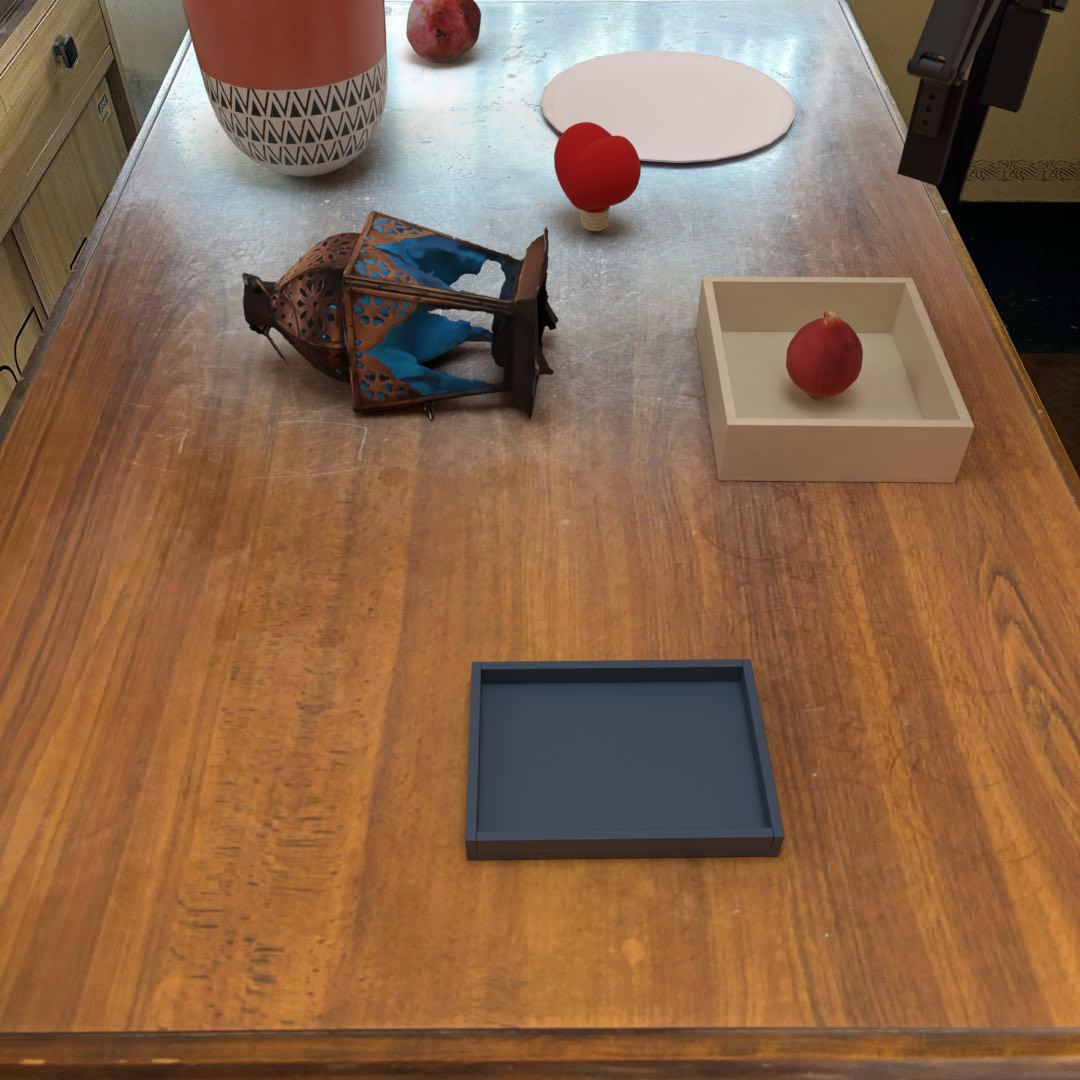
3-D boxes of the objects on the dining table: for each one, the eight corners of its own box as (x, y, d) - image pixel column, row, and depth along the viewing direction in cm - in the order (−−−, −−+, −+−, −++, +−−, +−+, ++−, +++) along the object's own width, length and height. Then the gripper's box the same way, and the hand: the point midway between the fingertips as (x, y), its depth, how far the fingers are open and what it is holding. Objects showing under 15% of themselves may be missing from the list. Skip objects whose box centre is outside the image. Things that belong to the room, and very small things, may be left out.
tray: (746, 679, 69) (751, 658, 68) (779, 856, 61) (785, 836, 59) (473, 682, 69) (471, 661, 68) (466, 860, 61) (464, 840, 59)
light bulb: (535, 225, 109) (535, 127, 102) (586, 201, 112) (589, 105, 105) (602, 262, 104) (607, 162, 97) (653, 236, 107) (661, 137, 100)
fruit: (494, 49, 140) (492, -36, 132) (460, 77, 133) (456, -10, 126) (431, 37, 142) (425, -46, 135) (394, 65, 136) (386, -22, 129)
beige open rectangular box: (954, 482, 82) (974, 426, 78) (718, 480, 82) (727, 424, 79) (897, 331, 96) (912, 277, 92) (695, 329, 96) (702, 275, 92)
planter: (180, 188, 114) (125, -34, 99) (277, 111, 127) (241, -96, 111) (348, 223, 109) (317, -6, 94) (431, 139, 122) (416, -74, 107)
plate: (733, 194, 113) (735, 183, 112) (492, 130, 123) (492, 119, 123) (830, 90, 131) (832, 80, 130) (612, 42, 141) (612, 32, 140)
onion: (837, 371, 91) (857, 287, 86) (863, 414, 87) (886, 330, 82) (769, 378, 91) (785, 294, 85) (793, 422, 87) (811, 337, 81)
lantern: (549, 431, 96) (263, 410, 96) (563, 243, 95) (273, 221, 95) (552, 427, 80) (207, 402, 80) (568, 199, 79) (218, 173, 78)
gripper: (1078, -277, 69) (980, 67, 84) (904, -203, 55) (825, 193, 70) (1205, -262, 65) (1079, 93, 80) (1054, -179, 51) (937, 231, 67)
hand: (961, 140), depth 75 cm, fingers open, 13 cm apart
